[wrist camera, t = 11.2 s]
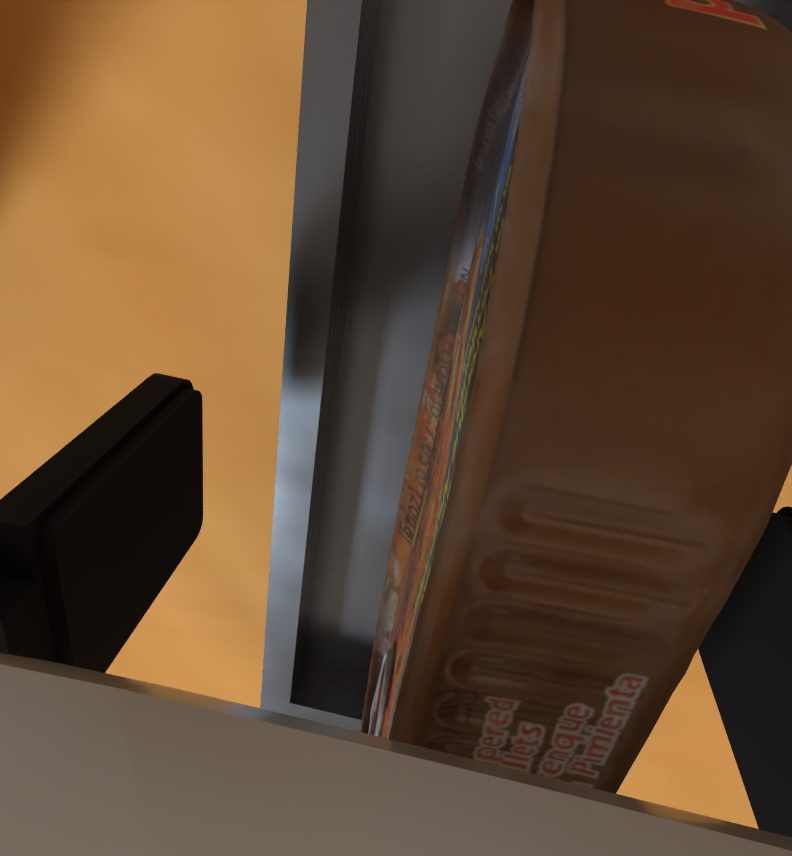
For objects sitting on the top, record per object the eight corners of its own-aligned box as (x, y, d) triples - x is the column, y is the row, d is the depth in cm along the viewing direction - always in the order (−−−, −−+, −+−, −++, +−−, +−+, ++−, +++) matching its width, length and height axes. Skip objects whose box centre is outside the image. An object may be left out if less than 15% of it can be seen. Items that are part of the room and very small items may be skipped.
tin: (502, -4, 10) (489, -241, 3) (701, 31, 10) (1278, -116, 2) (371, 640, 17) (274, 1040, 10) (481, 667, 17) (463, 1093, 10)
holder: (863, -133, 9) (973, -200, 7) (526, 700, 19) (529, 779, 17) (366, -209, 10) (326, -292, 8) (287, 644, 20) (260, 714, 17)
